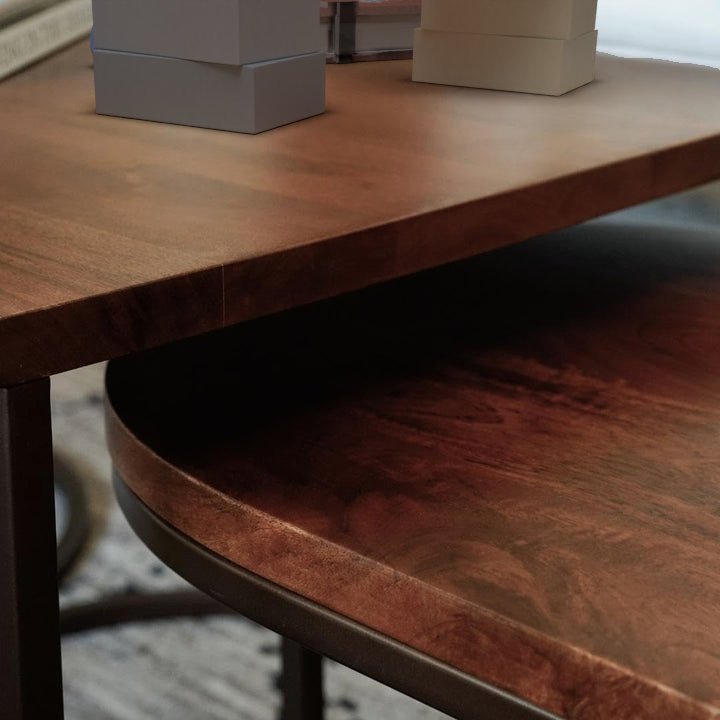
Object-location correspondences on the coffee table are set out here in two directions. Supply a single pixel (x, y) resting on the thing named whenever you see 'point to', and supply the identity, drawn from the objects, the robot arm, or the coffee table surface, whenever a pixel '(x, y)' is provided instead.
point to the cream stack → (507, 44)
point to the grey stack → (209, 62)
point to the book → (368, 29)
